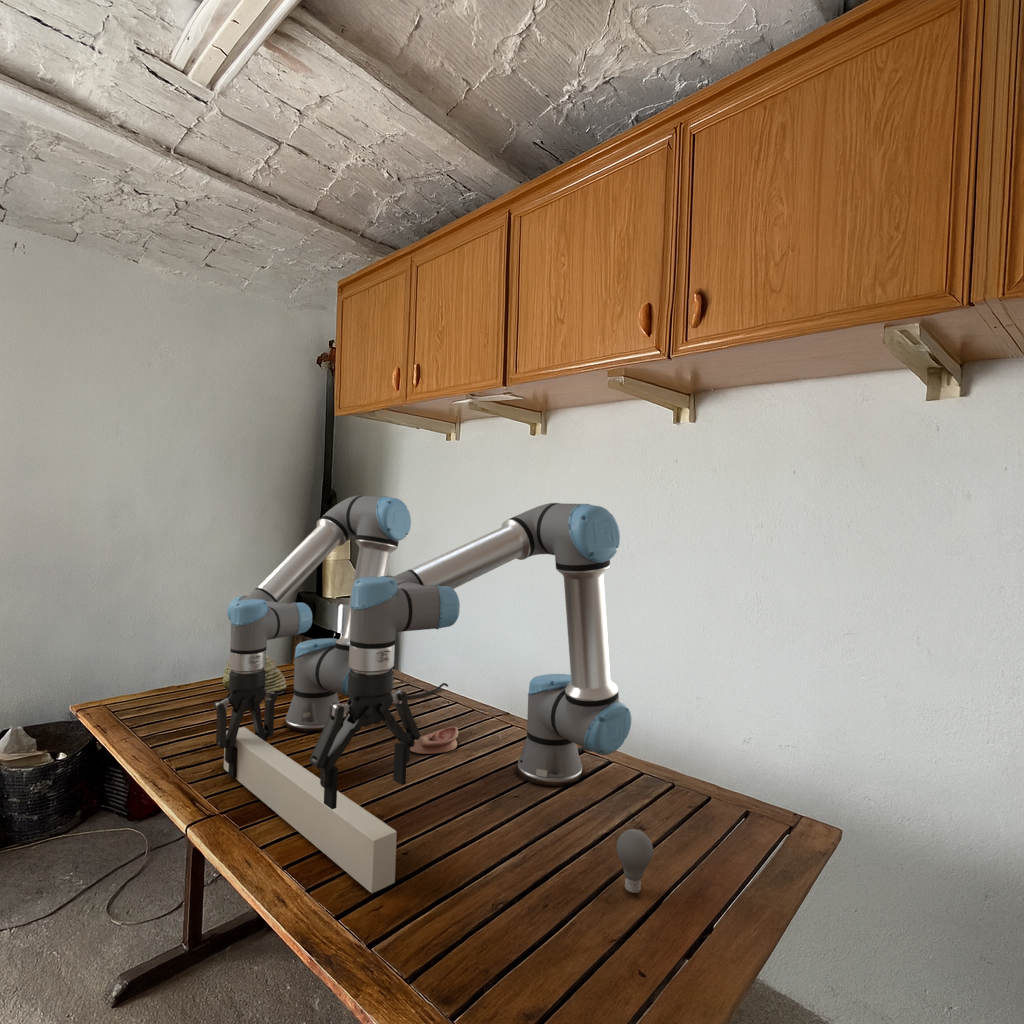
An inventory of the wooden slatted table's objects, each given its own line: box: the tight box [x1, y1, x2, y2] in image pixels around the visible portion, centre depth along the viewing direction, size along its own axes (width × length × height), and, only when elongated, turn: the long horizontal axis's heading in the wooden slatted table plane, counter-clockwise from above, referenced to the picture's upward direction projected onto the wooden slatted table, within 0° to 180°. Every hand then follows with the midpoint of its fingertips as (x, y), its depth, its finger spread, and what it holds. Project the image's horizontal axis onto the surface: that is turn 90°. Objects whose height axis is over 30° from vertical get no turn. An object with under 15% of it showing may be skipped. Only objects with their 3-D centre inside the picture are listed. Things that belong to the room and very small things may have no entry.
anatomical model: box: [410, 726, 459, 755], centre depth 163 cm, size 13×4×12 cm
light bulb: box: [615, 828, 654, 894], centre depth 106 cm, size 6×6×10 cm
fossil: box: [222, 653, 288, 695], centre depth 198 cm, size 9×18×15 cm, turn 132°
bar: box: [223, 726, 398, 894], centre depth 125 cm, size 61×4×9 cm, turn 45°
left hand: (244, 772), depth 142 cm, fingers closed on bar, 4 cm apart
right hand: (366, 793), depth 108 cm, fingers open, 13 cm apart
